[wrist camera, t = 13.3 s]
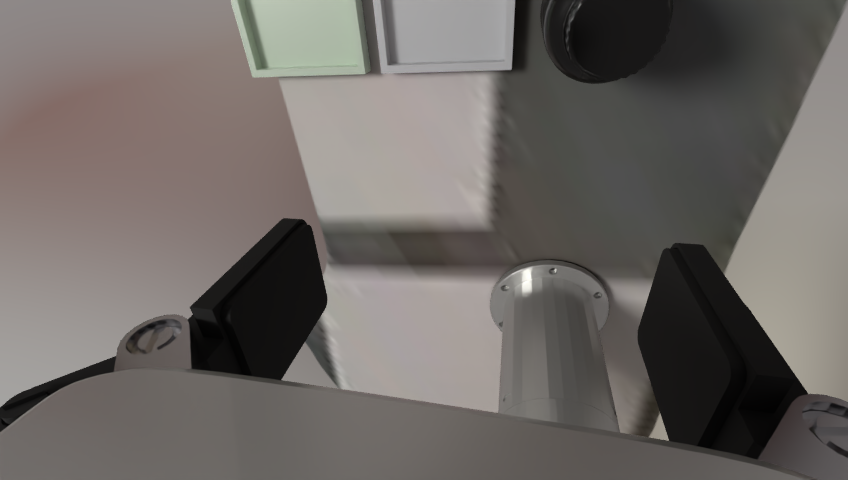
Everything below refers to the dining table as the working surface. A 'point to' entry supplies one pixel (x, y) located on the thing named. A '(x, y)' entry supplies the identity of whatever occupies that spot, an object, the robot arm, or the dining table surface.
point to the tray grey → (444, 35)
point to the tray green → (303, 37)
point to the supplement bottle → (604, 36)
